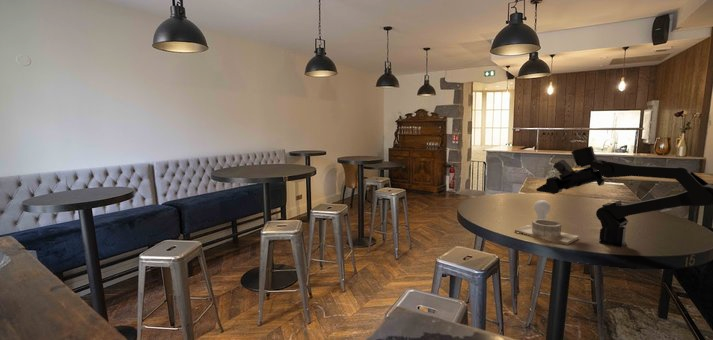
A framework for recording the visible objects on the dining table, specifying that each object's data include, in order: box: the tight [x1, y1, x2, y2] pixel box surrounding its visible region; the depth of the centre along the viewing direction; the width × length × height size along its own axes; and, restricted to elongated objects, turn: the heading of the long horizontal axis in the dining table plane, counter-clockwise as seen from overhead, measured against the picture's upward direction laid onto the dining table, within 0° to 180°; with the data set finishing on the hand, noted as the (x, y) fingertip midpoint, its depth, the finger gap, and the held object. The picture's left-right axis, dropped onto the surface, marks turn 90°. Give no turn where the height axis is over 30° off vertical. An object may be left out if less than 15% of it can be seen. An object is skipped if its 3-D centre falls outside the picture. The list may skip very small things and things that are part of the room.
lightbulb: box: [533, 199, 552, 220], centre depth 144 cm, size 6×6×11 cm
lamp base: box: [514, 219, 580, 246], centre depth 131 cm, size 19×11×5 cm, turn 38°
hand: (542, 188), depth 141 cm, fingers open, 9 cm apart
